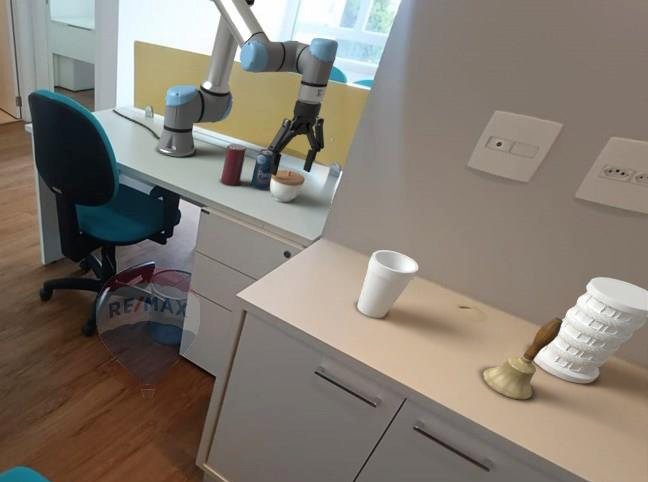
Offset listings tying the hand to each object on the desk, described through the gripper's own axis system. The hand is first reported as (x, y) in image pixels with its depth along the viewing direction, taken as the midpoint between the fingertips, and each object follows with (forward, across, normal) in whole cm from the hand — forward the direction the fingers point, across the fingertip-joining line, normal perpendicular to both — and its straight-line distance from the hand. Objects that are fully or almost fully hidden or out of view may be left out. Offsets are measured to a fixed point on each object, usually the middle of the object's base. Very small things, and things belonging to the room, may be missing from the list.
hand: (289, 172), depth 145 cm
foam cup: (+10, -18, -60) cm, 63 cm away
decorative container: (+10, +8, -88) cm, 89 cm away
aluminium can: (+9, -10, +17) cm, 22 cm away
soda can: (+9, -2, +11) cm, 15 cm away
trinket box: (+9, 0, 0) cm, 9 cm away
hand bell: (+10, -10, -88) cm, 89 cm away
